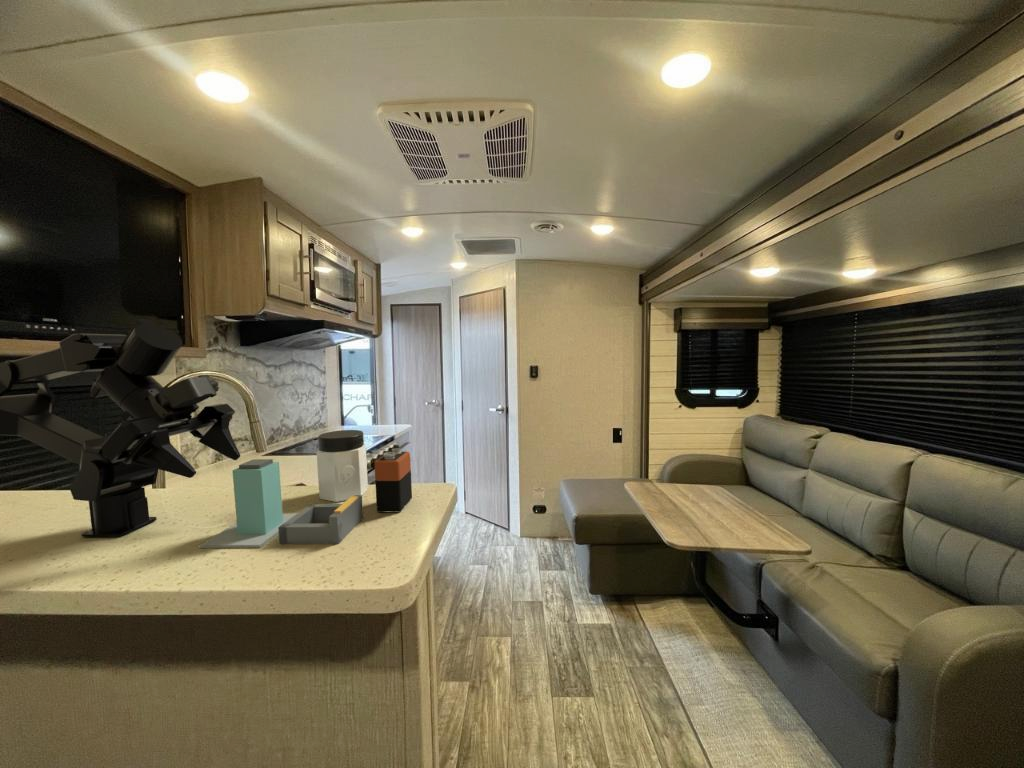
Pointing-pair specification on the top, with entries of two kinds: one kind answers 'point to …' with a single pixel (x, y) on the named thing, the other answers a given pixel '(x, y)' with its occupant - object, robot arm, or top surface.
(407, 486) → the battery
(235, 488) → the plug
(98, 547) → the top surface
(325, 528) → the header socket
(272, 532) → the mat
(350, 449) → the jar
